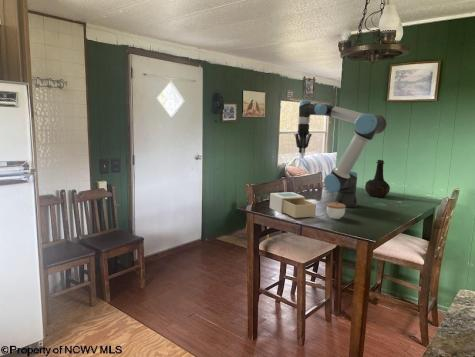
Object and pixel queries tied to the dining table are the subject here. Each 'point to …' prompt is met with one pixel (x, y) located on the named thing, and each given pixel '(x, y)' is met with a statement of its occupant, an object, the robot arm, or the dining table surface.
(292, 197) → the cream box
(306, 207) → the tray
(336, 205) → the lidded jar
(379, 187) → the glass bottle
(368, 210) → the dining table surface
